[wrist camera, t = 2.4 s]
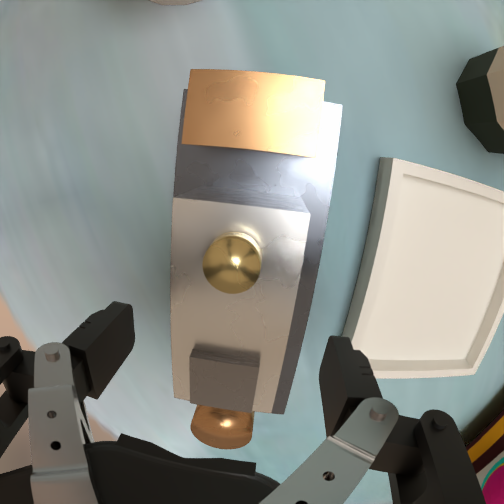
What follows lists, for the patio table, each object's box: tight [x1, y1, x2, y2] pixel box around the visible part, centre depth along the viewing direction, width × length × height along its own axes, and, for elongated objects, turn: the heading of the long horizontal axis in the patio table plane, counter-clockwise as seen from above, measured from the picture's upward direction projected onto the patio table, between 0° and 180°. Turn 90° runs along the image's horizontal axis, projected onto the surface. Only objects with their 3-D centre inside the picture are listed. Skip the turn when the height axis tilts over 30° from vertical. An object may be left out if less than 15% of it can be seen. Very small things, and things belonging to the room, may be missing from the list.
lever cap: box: [170, 186, 310, 413], centre depth 14 cm, size 10×5×6 cm, turn 174°
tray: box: [342, 157, 504, 378], centre depth 19 cm, size 16×14×2 cm
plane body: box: [174, 69, 343, 449], centre depth 17 cm, size 20×8×9 cm, turn 174°
